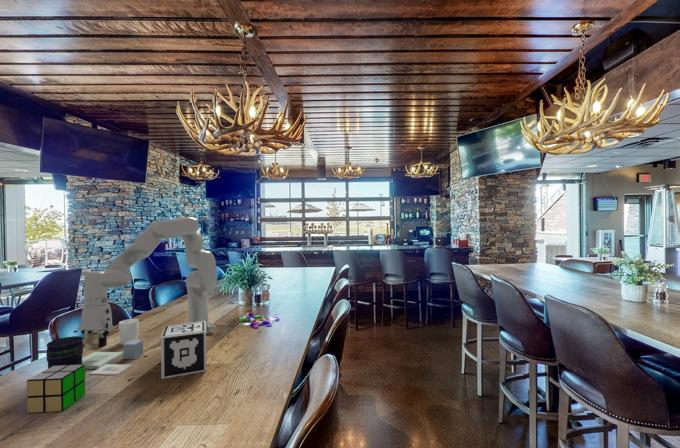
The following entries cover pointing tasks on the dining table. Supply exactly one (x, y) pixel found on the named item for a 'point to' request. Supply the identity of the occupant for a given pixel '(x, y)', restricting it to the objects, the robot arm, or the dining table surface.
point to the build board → (100, 359)
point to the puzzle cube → (55, 388)
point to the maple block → (92, 341)
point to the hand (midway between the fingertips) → (96, 345)
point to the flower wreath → (258, 320)
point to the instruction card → (111, 369)
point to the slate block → (133, 349)
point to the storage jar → (65, 351)
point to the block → (183, 349)
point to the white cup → (128, 330)
